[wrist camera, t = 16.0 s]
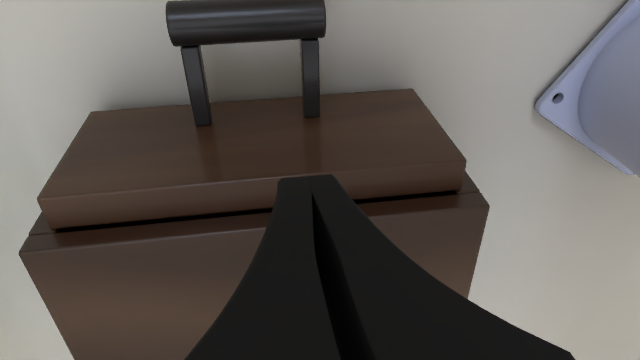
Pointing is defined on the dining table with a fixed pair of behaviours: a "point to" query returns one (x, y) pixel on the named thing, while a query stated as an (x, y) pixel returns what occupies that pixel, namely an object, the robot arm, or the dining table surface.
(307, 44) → the drawer
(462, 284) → the cabinet
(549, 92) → the robot arm
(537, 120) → the dining table surface
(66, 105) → the dining table surface
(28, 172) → the dining table surface
